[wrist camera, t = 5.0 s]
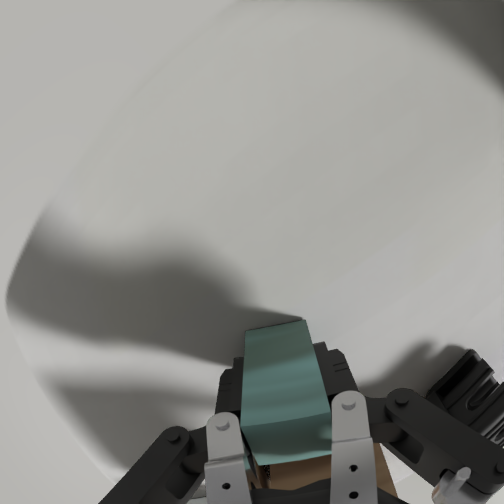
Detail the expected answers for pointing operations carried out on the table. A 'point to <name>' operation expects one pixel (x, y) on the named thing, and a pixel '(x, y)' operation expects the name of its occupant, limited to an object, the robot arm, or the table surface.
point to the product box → (198, 501)
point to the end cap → (472, 397)
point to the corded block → (286, 406)
